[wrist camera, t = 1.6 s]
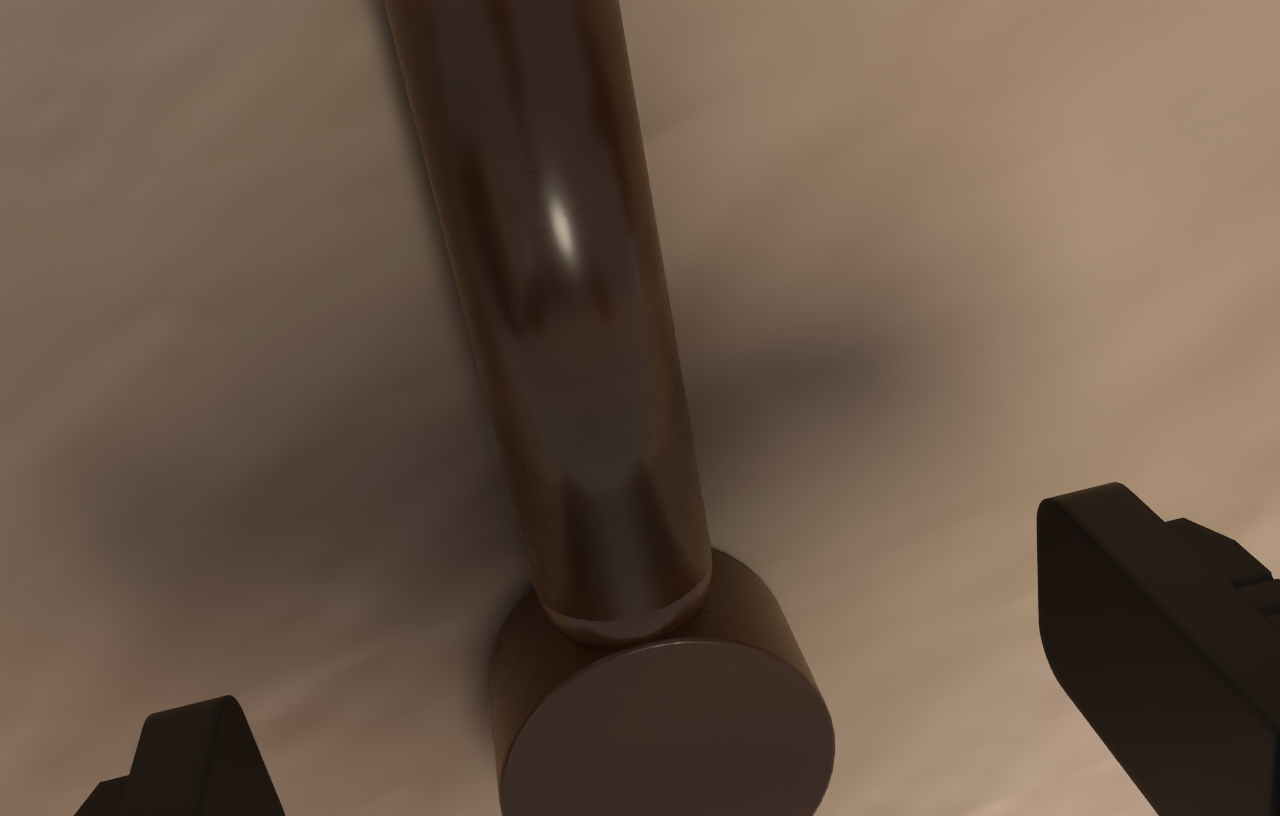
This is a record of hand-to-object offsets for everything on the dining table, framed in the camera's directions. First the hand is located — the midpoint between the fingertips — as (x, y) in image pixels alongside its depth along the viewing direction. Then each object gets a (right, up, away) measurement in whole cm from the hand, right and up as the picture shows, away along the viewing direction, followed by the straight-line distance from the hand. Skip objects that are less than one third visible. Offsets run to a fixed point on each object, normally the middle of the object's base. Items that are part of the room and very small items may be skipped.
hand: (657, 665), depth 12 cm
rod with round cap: (-1, +3, +6) cm, 6 cm away
